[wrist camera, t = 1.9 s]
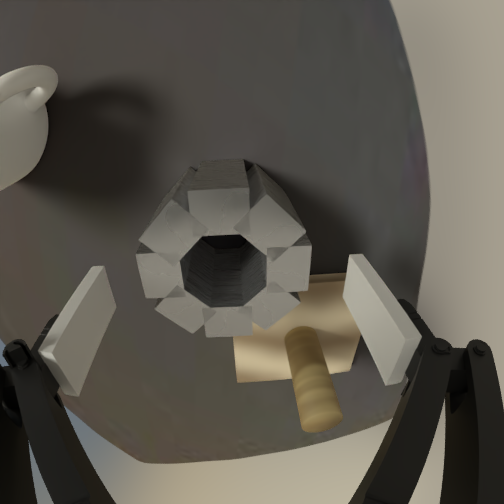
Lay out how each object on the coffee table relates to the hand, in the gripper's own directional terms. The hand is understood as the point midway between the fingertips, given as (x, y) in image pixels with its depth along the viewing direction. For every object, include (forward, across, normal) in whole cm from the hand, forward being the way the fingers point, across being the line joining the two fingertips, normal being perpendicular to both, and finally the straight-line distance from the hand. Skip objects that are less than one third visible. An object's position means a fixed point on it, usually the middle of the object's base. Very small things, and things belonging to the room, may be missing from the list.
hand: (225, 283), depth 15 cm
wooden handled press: (+8, +6, -10) cm, 14 cm away
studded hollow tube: (+7, 0, 0) cm, 7 cm away
